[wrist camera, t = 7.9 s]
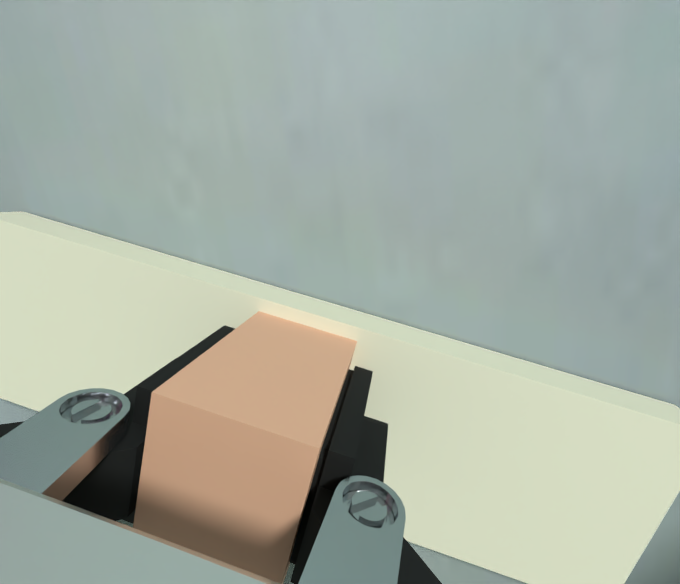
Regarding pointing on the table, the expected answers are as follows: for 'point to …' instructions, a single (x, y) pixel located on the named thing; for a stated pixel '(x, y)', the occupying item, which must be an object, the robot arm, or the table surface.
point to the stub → (331, 413)
